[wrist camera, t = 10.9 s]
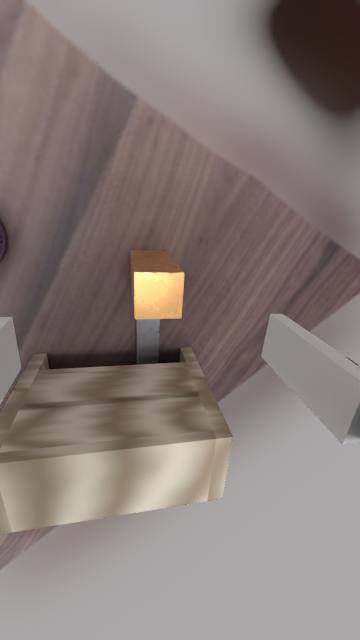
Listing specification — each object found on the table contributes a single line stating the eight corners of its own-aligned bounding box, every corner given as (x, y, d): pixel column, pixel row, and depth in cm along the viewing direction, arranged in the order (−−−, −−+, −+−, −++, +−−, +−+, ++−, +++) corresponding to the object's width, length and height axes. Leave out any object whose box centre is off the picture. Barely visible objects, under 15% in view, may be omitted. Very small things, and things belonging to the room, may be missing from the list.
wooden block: (132, 380, 38) (135, 443, 28) (130, 249, 31) (134, 272, 21) (160, 378, 39) (173, 439, 29) (165, 250, 32) (184, 272, 22)
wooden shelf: (42, 405, 37) (-8, 535, 23) (33, 353, 34) (-32, 466, 19) (186, 393, 41) (222, 498, 27) (190, 346, 38) (233, 436, 23)
